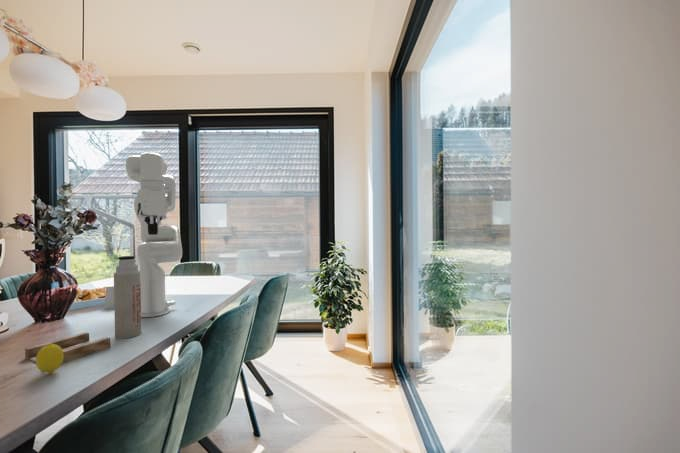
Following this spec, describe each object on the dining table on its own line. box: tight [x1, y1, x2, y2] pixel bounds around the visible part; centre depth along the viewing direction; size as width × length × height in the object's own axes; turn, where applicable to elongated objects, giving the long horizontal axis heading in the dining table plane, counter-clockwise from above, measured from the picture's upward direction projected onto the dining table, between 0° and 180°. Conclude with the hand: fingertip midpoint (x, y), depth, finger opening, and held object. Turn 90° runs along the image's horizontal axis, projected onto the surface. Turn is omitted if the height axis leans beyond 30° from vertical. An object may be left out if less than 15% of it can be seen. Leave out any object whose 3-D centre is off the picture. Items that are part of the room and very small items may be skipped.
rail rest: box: [24, 331, 112, 364], centre depth 103 cm, size 16×14×3 cm
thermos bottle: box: [113, 255, 142, 339], centre depth 119 cm, size 8×8×28 cm
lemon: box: [35, 343, 64, 375], centre depth 89 cm, size 6×6×8 cm
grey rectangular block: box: [104, 285, 114, 310], centre depth 159 cm, size 4×7×10 cm, turn 110°
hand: (152, 234), depth 128 cm, fingers closed
